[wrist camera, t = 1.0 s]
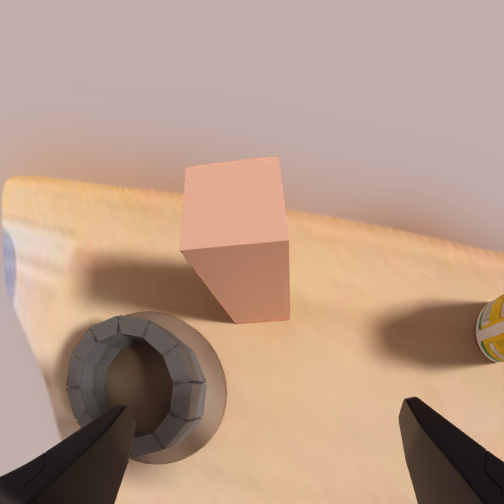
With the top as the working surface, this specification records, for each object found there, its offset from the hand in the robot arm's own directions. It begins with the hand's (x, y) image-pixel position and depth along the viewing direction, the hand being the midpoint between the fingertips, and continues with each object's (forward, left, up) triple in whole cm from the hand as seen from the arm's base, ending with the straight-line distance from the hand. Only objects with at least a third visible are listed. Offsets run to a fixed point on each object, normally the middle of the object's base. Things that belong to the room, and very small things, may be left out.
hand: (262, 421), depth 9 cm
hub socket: (-5, +8, -13) cm, 16 cm away
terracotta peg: (+6, +6, -13) cm, 15 cm away
